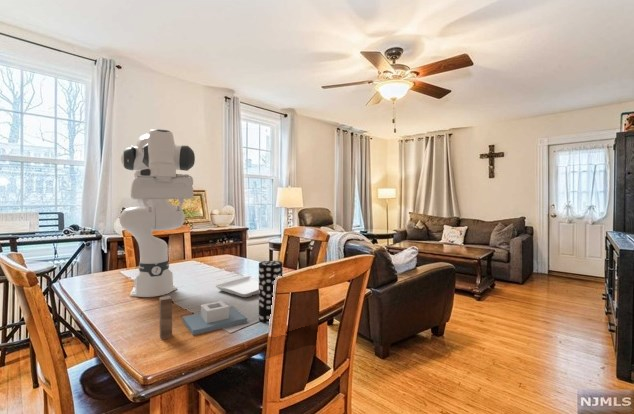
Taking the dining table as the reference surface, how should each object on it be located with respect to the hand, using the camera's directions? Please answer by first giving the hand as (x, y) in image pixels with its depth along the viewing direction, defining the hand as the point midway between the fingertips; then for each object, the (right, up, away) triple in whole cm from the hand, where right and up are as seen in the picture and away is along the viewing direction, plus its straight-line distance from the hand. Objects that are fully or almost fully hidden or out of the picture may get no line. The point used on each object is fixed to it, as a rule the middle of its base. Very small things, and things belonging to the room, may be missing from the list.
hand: (164, 211), depth 111 cm
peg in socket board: (+19, -38, -3) cm, 43 cm away
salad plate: (+22, -38, +33) cm, 55 cm away
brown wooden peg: (+8, -38, -15) cm, 42 cm away
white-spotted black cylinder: (+38, -38, -1) cm, 54 cm away
